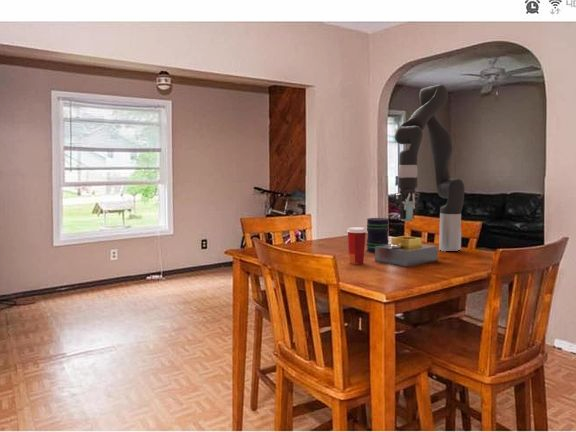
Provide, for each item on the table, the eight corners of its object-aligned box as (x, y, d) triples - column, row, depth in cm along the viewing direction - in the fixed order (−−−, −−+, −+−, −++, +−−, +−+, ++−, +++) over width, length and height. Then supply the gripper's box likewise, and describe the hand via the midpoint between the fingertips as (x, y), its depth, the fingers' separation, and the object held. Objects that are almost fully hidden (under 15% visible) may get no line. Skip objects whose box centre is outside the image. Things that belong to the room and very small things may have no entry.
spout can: (405, 219, 193) (406, 196, 192) (414, 220, 189) (415, 197, 189) (399, 220, 190) (399, 197, 189) (407, 221, 187) (408, 197, 186)
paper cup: (367, 261, 190) (367, 227, 188) (364, 265, 182) (364, 229, 181) (348, 260, 192) (348, 226, 191) (344, 264, 185) (344, 229, 184)
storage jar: (392, 251, 213) (393, 219, 212) (377, 253, 208) (378, 220, 206) (377, 248, 222) (377, 217, 220) (362, 250, 216) (362, 218, 215)
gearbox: (405, 255, 204) (405, 233, 203) (437, 260, 191) (438, 237, 190) (374, 260, 191) (375, 238, 190) (406, 267, 179) (407, 242, 178)
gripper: (411, 176, 195) (410, 216, 197) (388, 176, 187) (388, 219, 188) (426, 176, 190) (425, 218, 191) (404, 176, 181) (403, 220, 182)
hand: (406, 218), depth 190 cm, fingers closed on spout can, 4 cm apart
